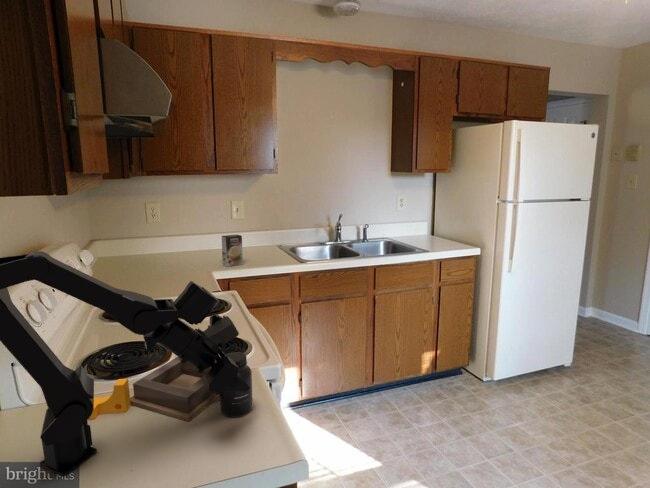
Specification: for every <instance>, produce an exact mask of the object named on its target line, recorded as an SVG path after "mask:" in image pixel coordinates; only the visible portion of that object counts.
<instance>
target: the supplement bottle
mask: <svg viewBox="0 0 650 488" xmlns="http://www.w3.org/2000/svg"><path fill="white" fill-rule="evenodd" d="M225 356H228V357H229V358H231V359H232V360H233V361H235V363H236V364H237V366H238V367H239V371H238V374H239V375H240V376H241V377H242V378H243V379H244V380H245V382H246V383H247V384H248V385H249V386H250V389H249V390H248V391H228V392H222V393H220V396H219V405H220V407H219V408H220V412H221V413H222V415H224V416H225V417H229V418H239V417H243V416H244V415H247V414H249V412H251V410H252V409H253V406H254V405H253V404H254V403H253V372H252V369H251V367H250V366H249V365H248V361H247V354H246V353H244V352H239V351H238V352H237V351H235V352H230V353H227V354H225ZM225 356H224V357H225Z"/></svg>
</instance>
